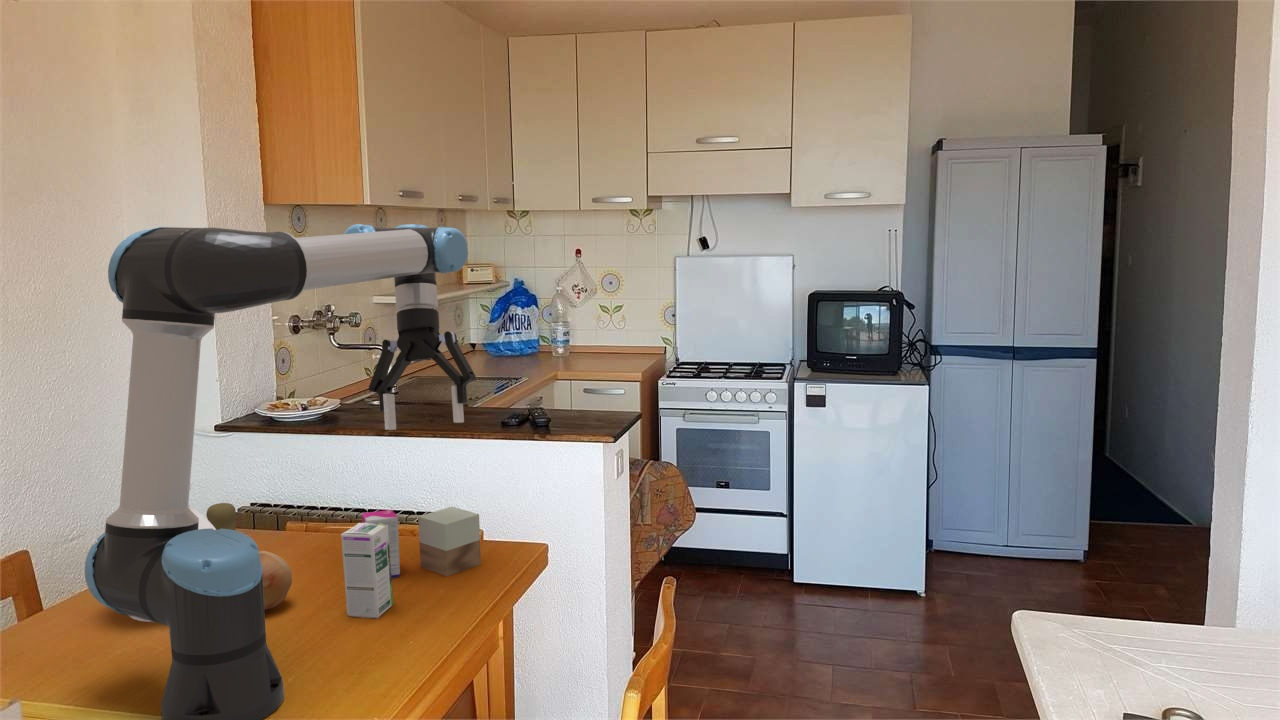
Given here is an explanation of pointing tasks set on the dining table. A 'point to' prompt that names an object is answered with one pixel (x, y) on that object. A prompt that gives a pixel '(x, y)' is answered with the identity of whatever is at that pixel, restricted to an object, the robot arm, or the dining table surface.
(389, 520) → the supplement box
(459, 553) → the tower base slab
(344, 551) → the syrup box
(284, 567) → the onion
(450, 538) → the tower top slab
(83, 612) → the dining table surface
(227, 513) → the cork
